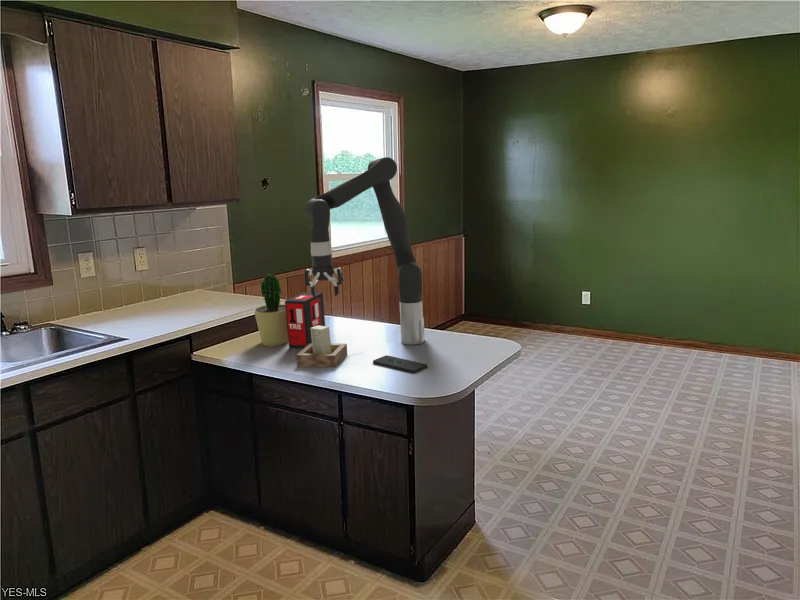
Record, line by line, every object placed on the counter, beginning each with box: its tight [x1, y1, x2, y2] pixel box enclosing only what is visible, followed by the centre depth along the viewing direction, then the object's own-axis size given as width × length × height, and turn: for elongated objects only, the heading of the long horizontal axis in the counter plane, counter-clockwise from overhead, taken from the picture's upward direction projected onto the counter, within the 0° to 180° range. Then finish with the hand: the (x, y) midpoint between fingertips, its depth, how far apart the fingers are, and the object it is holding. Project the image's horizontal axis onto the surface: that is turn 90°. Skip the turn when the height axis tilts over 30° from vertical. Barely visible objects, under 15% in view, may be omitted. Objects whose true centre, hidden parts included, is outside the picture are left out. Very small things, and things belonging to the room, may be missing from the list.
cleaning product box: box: [284, 291, 326, 350], centre depth 252 cm, size 16×9×20 cm, turn 162°
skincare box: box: [310, 325, 332, 354], centre depth 229 cm, size 6×4×12 cm
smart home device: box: [372, 355, 428, 374], centre depth 221 cm, size 8×2×20 cm
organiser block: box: [295, 342, 348, 368], centre depth 230 cm, size 15×15×4 cm
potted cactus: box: [253, 272, 289, 347], centre depth 255 cm, size 15×15×30 cm
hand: (325, 295), depth 229 cm, fingers open, 8 cm apart
